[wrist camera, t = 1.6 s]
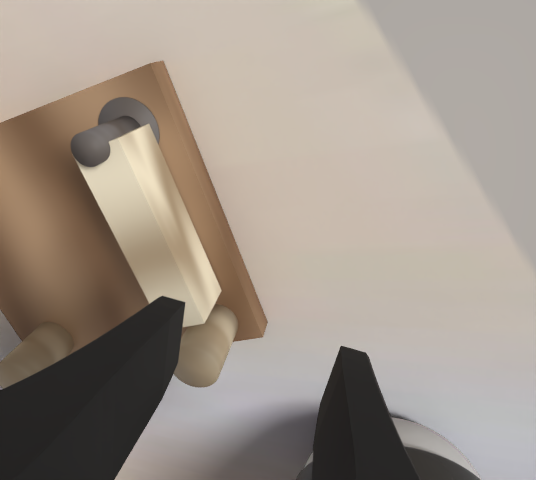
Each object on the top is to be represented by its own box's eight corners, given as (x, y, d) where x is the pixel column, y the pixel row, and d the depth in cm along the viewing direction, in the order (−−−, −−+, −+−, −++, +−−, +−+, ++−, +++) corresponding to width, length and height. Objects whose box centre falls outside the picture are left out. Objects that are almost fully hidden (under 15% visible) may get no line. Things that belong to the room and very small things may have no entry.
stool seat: (54, 356, 26) (2, 414, 22) (-77, 155, 22) (-173, 184, 18) (267, 322, 22) (247, 385, 18) (163, 60, 17) (106, 71, 13)
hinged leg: (101, 123, 18) (55, 141, 15) (142, 108, 17) (102, 124, 14) (184, 297, 21) (158, 338, 18) (221, 290, 20) (200, 331, 17)
